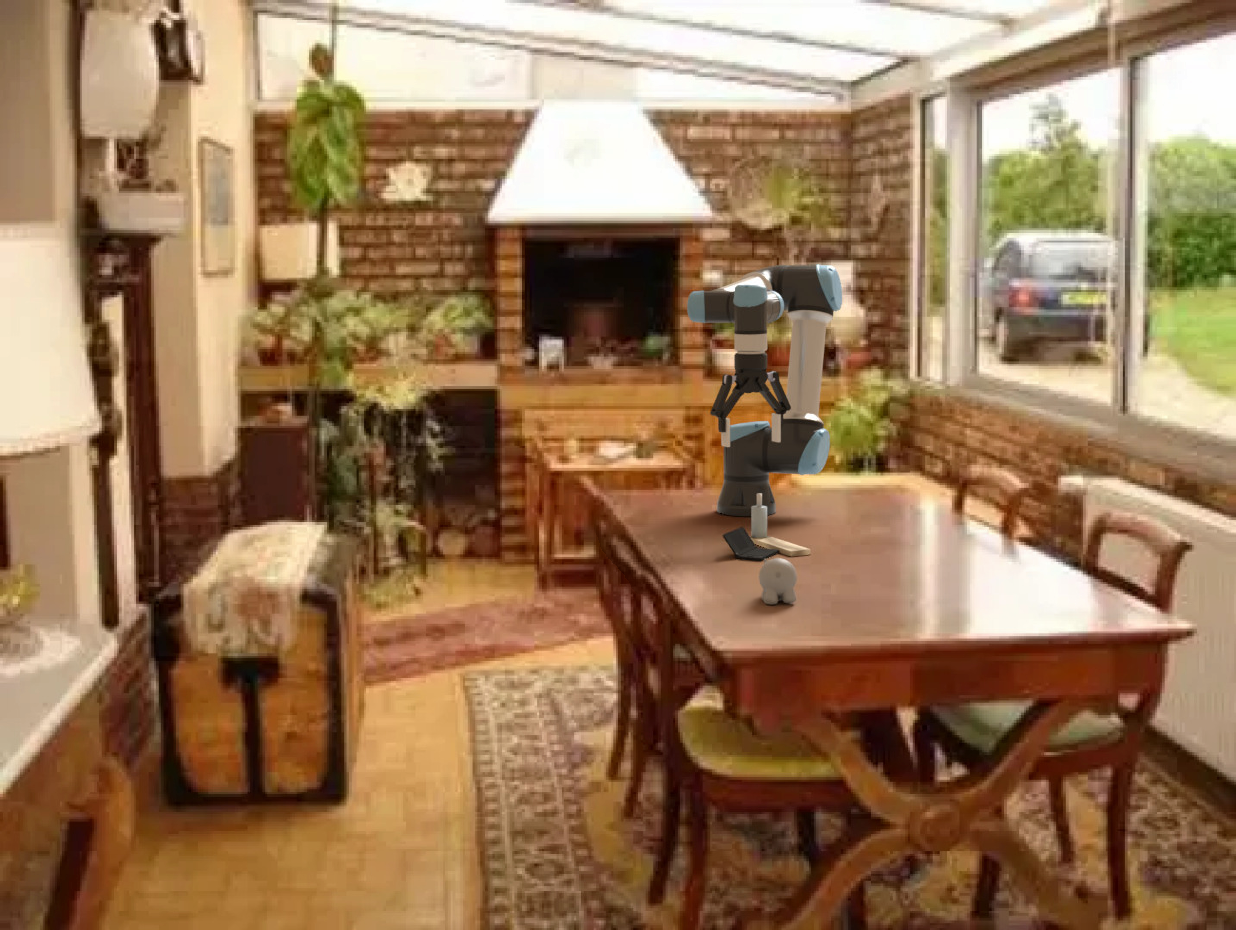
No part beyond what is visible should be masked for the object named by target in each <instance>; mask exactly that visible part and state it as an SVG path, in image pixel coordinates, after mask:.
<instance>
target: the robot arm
mask: <svg viewBox="0 0 1236 930" xmlns="http://www.w3.org/2000/svg"><path fill="white" fill-rule="evenodd" d="M842 305H843V291H842V283H841V279H840V275H839V273H838V271H837V269H836V268H835V267H834V266H833V265H829V264H828V265H827V264H819V263H817V264H777V265H770V266H767V267H763V268H759V269H757V270H753V271H751V272H748V273H746V274H744V275H742V277H740V279H739V280H737V281H735V282H732V283H730V284H727V285H724V286H721V287H719V288H716V289H713V290H712V289H711V290H694V291H692V292H690V294H689V295H688V298H687V303H686V312H687V316H688V318H689V320H690V321H691V322H693V323H702V324H707V323H709V324H710V323H711V324H712V323H713V324H714V323H715V324H718V323H720V324H721V323H722V324H724V323H726V324H727V323H731V324H733V325H734V326H733V327H734V330H733V334H734V336H733V338H734V339H733V340H734V345H733V346H734V349H733V350H734V351H736V352H735V353H734V355H733V356H734V357H733V358H734V359H733V360H734V361H733V362H734V364H733V365H734V370H735V373H734V375H730V374H726V373H724V374H723V375H722V380H721V386H720V388H719V391H718V393H717V395H716V398H715V400H714V402H713V405H712V408H710V409H711V410H710V413H709V414H710V415H711V416H713V417H716V418H717V422H718V423H717V425H718V426H717V428H718V429H717V430H718V433H720V436H721V437H720V438H721V439H720V440H721V441H720V443H721V444H720V445H721V446H722V447H723V484H722V486H721V491H720V494H719V497H718V500H717V503H716V512H717V513H718V514H720V513H722V514H721V515H724V514H725V516H732V517H733V516H735V517H751V507H752V506H757V494H758V493H761V494H762V506H767V516H769V515H773V514H775V513H776V512H777V511H776V510H777V504H776V500H775V498H774V495H773V491H772V487H771V484H770V474H791V475H800V476H804V475H817V474H819V473H821V471H822V470H823V468H825V465H826V463H827V460H828V457H829V452H830V447H831V442H830V439H831V437H830V433H829V431H828V430H827V429H825V427H824V425H825V424H824V421H823V420H822V419H821V418H820V416H819V414H820V413H819V411H820V403H821V402H820V399H821V389H822V381H823V379H822V378H823V368H824V366H823V365H824V354H825V345H826V344H825V343H826V334H827V333H826V330H827V325H828V324H829V323H830V322H831V321H832V320H833V318H834V312H837V311H839V310H840V309H841V308H842ZM784 311H787V317H788V318H789V319H790V321H791V322H792V326H791V337H790V339H791V340H790V351H789V360H788V361H789V362H788V371H787V373H788V374H787V382H786V383H787V385H786V392H785V390H784V388H783V386H782V384H781V382H780V381H781V380H780V374H779V372H778V371H774V370H770V371H769V372H767V369H768V354H767V352H766V351H767V350H768V324H772V323H774V322H775V321H777V320H779V318H780V317H782V316H783V313H784ZM840 311H841V310H840ZM767 381H768V382H769V384H770V386H771V388H772V390H773V392H774V395H773V393H772V392H771V390H770V388H769V387H768V386H767V384H766V382H767ZM734 383H735V386H734V387H733V388H732V385H733V384H734ZM731 389H732V390H731ZM730 391H731V393H730ZM751 393H755V394H756V393H757V394H758V393H760V395H761V396H762V397H763V398H764V400H765V401H766V402H767V403H768V406H770V407H771V409H772V410H773V411H774V412H775V413H774V412H772V413H771V424H770V422H769V421H768V420H760V421H759V420H757V421H748V422H741V423H737V424H736V423H735V424H731V418H729V415H730V413H731V412H732V410H733V409H734V407H735V406H736V404H737V403H738V401H739V400H740V399H741V397H742V396H744V395H745V394H751ZM729 394H730V395H729Z"/></svg>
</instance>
